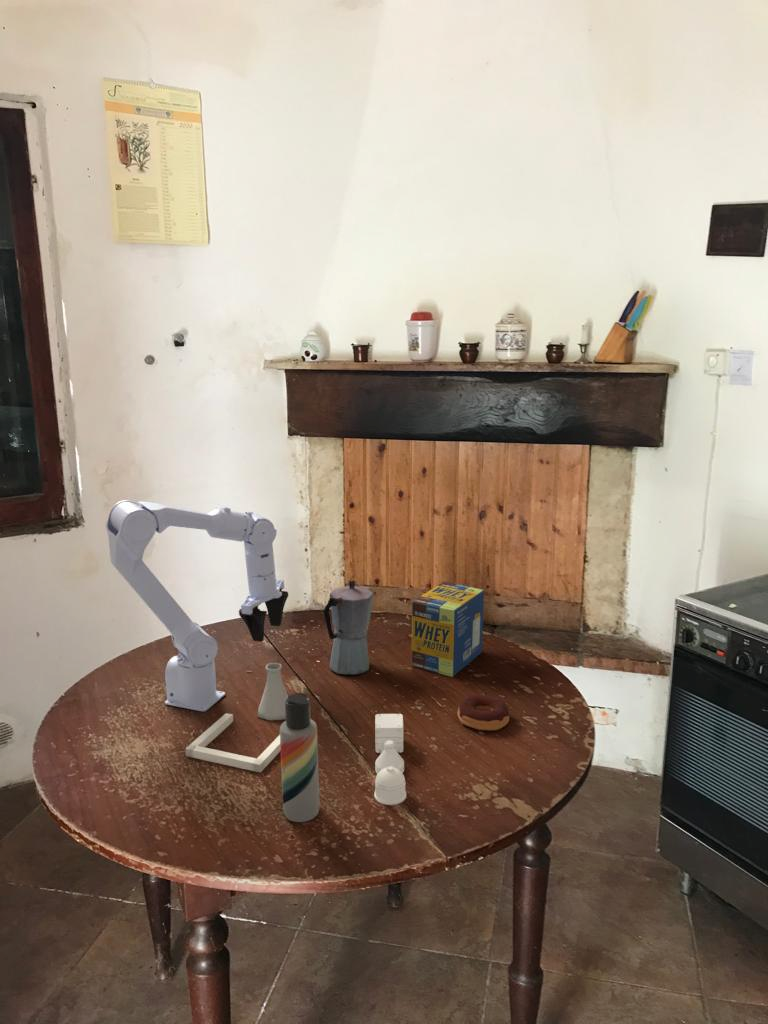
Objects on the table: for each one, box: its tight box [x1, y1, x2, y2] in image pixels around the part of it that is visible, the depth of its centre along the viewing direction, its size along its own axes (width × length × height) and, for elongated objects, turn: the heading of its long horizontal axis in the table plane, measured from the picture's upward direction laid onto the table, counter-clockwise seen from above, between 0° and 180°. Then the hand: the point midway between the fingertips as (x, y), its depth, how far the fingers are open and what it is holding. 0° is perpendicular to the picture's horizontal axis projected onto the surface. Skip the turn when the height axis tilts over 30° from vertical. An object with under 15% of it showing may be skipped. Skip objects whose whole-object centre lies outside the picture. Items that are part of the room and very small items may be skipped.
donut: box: [456, 694, 510, 732], centre depth 154 cm, size 10×10×4 cm
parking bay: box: [185, 712, 281, 773], centre depth 146 cm, size 15×14×2 cm
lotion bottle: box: [279, 692, 320, 823], centre depth 124 cm, size 6×6×20 cm
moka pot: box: [323, 580, 374, 676], centre depth 174 cm, size 10×15×20 cm, turn 148°
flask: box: [257, 662, 289, 721], centre depth 156 cm, size 7×7×10 cm
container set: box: [373, 713, 407, 806], centre depth 137 cm, size 20×5×6 cm, turn 0°
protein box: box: [411, 581, 485, 678], centre depth 179 cm, size 10×15×16 cm
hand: (267, 632), depth 168 cm, fingers open, 7 cm apart
